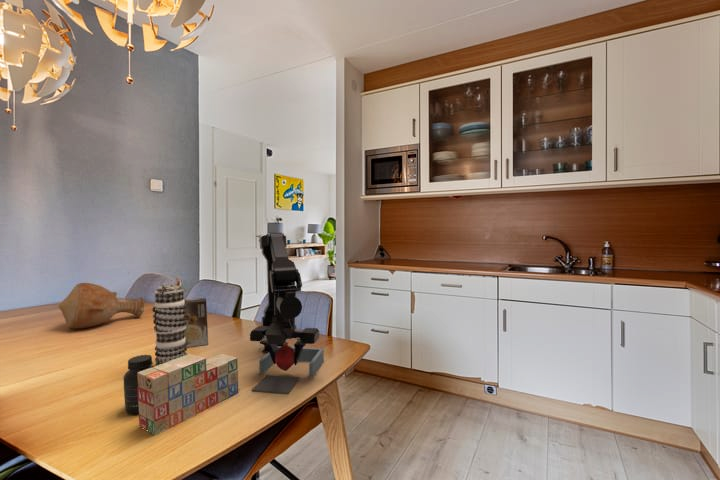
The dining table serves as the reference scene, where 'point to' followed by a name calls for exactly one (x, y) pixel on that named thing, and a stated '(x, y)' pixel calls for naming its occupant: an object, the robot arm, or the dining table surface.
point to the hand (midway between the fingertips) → (285, 364)
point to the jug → (95, 306)
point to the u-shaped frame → (307, 354)
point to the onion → (285, 357)
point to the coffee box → (196, 322)
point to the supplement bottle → (134, 381)
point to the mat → (276, 384)
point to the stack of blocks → (184, 389)
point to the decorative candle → (169, 323)
